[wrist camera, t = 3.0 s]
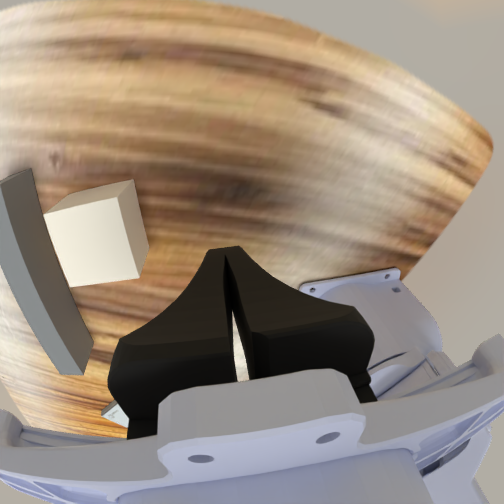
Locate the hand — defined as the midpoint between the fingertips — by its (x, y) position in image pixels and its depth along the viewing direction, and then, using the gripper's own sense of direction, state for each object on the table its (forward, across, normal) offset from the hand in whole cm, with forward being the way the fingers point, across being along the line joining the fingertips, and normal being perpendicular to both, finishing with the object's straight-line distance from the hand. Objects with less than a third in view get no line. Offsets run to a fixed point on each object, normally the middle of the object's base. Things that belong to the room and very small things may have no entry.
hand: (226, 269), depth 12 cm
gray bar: (+8, +14, +3) cm, 17 cm away
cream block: (+8, +8, 0) cm, 11 cm away
